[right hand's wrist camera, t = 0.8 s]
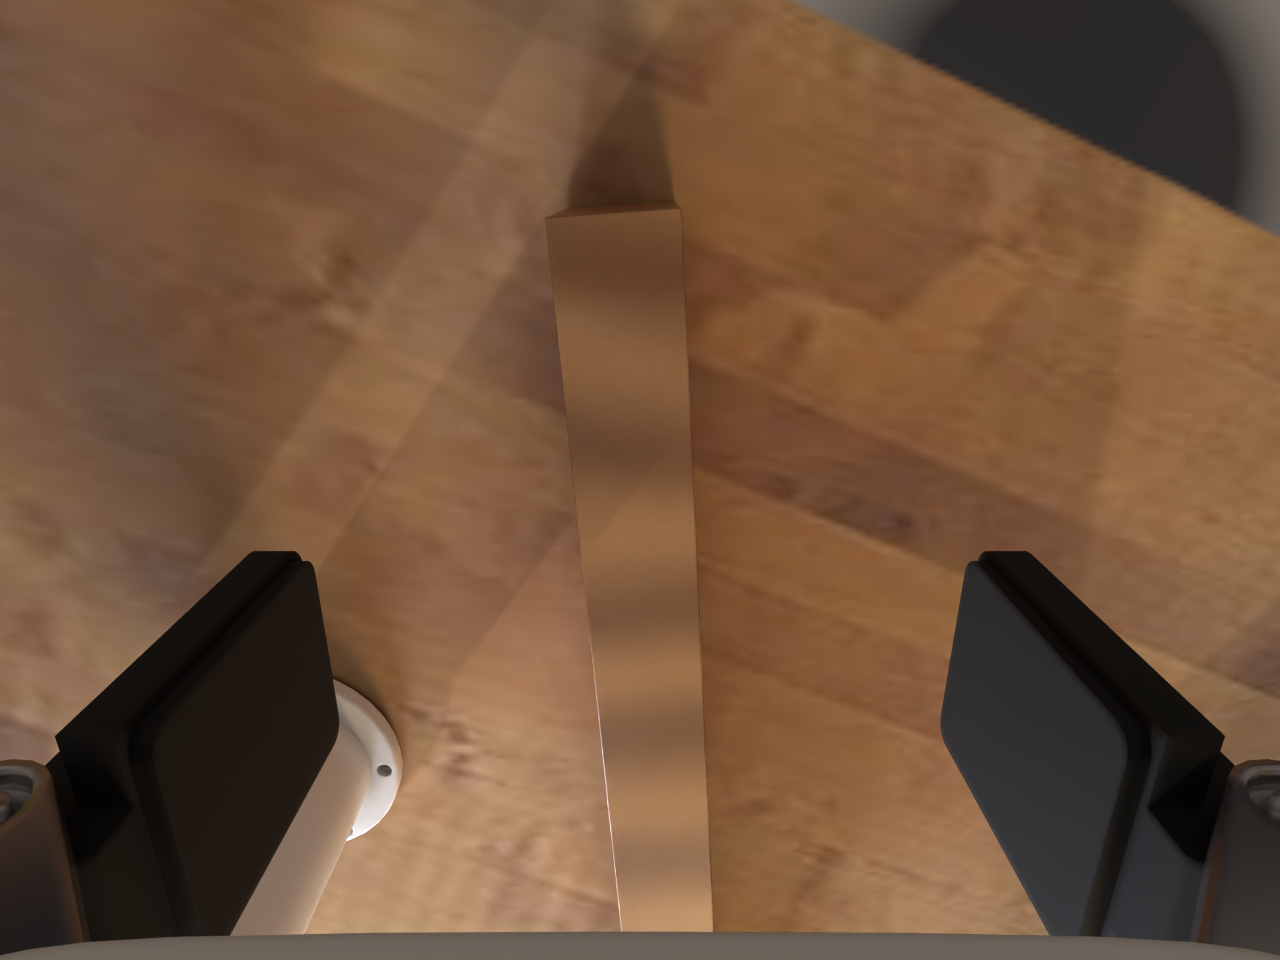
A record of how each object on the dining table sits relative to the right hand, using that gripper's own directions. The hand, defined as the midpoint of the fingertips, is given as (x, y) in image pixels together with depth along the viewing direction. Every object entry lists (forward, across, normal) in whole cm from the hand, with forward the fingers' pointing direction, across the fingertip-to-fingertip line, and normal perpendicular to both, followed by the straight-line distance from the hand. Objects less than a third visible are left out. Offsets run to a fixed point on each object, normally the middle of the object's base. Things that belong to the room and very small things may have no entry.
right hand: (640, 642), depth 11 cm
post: (+28, +1, -26) cm, 38 cm away
